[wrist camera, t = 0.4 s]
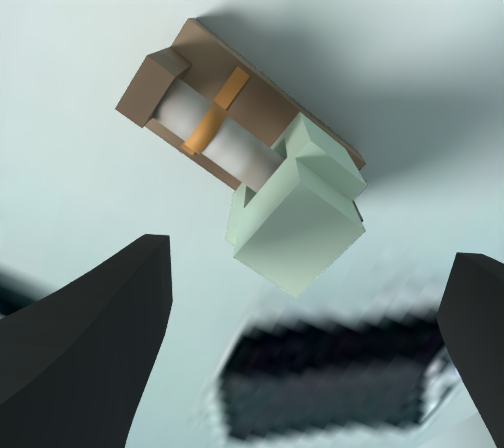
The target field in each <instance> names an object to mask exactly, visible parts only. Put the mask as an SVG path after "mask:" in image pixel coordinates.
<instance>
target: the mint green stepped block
mask: <svg viewBox="0 0 504 448" xmlns="http://www.w3.org/2000/svg"><path fill="white" fill-rule="evenodd" d="M271 149H272V150H274V151H275V152H276V153H278V154H279V155H280V156H282V157H283V158H284V159H285V161H284V162H283V163H282V164H281V165H280V167H279V168H278V169H277V170H276V171H275V172H274V174H273V175H272V176H271V177H270V178H269V180H268V181H267V182H266V183H265V184H264V185H263V187H262V188H261V189H260V190H259V191H258V193H256V192H255V191H253V190H252V189H251V188H249V187H248V186H246V185H245V184H244V183H241V185H240V186H239V187H238V188H237V190H236V191H235V192H234V193H233V196H232V202H231V208H230V214H229V219H228V225H227V231H226V237H225V240H226V241H227V242H229V243H230V244H232V245H233V246H235V247H234V255H233V257H234V258H235V259H237V260H238V261H240V262H241V263H243V264H244V265H246V266H247V267H249V268H250V269H252V270H253V271H255V272H257V273H258V274H260V275H261V276H263V277H264V278H266V279H267V280H269V281H270V282H272V283H273V284H275V285H276V286H278V287H279V288H281V289H282V290H284V291H285V292H287V293H288V294H290V295H292V296H293V297H295V298H297V297H298V296H299V295H300V294H301V293H302V292H303V291H304V290H305V289H306V288H307V287H308V286H309V285H311V284H312V283H313V282H314V281H315V280H316V279H317V278H318V277H319V276H320V275H321V274H322V273H323V272H324V271H325V270H326V269H327V268H328V267H329V266H330V265H331V264H332V263H333V262H334V261H335V260H336V259H337V258H338V257H339V256H340V255H341V254H342V253H343V252H344V251H345V250H347V249H348V248H349V247H350V246H351V245H352V244H353V243H354V242H355V241H356V240H357V239H358V238H359V237H360V236H361V235H362V234H363V233H364V232H365V228H364V226H363V224H362V222H361V220H360V218H359V216H358V213H357V211H356V209H355V207H354V205H353V203H352V201H353V200H354V199H355V198H356V197H357V196H358V195H359V194H360V193H361V192H362V191H363V190H364V189H365V188H366V187H367V184H366V182H365V181H364V179H363V177H362V176H361V174H360V172H359V171H358V169H357V167H356V166H355V164H354V162H353V161H352V159H351V157H350V156H349V154H348V152H347V151H346V149H345V148H344V147H343V146H341V145H340V144H339V143H338V142H337V141H335V140H334V139H333V138H332V137H330V136H329V135H328V134H327V133H326V132H324V131H323V130H322V129H321V128H319V127H318V126H317V125H316V124H314V123H313V122H312V121H311V120H310V119H308V118H307V117H306V116H305V115H303V114H302V113H301V112H299V113H298V115H297V116H296V117H295V118H294V119H293V121H292V122H291V123H290V124H289V126H288V127H287V128H286V129H285V131H284V132H283V133H282V134H281V135H280V137H279V138H278V139H277V140H276V142H275V143H274V144H273V145H272V146H271Z"/></svg>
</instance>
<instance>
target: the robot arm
mask: <svg viewBox="0 0 504 448" xmlns="http://www.w3.org/2000/svg"><path fill="white" fill-rule="evenodd" d="M172 302H173V298H172V278H171V257H170V237H169V235H153V234H145V235H143V236H141V237H140V238H138V239H137V240H135V241H134V242H132V243H131V244H129V245H128V246H126V247H125V248H123V249H122V250H120V251H119V252H118V253H116V254H115V255H113V256H112V257H110V258H109V259H107V260H106V261H104V262H103V263H101V264H100V265H98V266H97V267H95V268H94V269H92V270H91V271H89V272H87V273H86V274H84V275H83V276H81V277H79V278H78V279H76V280H74V281H73V282H71V283H69V284H68V285H66V286H64V287H63V288H61V289H59V290H58V291H56V292H54V293H52V294H51V295H49V296H47V297H45V298H43V299H41V300H39V301H37V302H35V303H33V304H31V305H29V306H27V307H25V308H23V309H21V310H19V311H17V312H15V313H13V314H11V315H8V316H6V317H4V318H2V319H0V448H125V444H126V440H127V437H128V433H129V430H130V427H131V424H132V421H133V418H134V415H135V412H136V410H137V407H138V405H139V402H140V399H141V397H142V394H143V391H144V389H145V386H146V384H147V381H148V378H149V376H150V373H151V371H152V368H153V365H154V363H155V360H156V357H157V355H158V352H159V349H160V347H161V344H162V341H163V339H164V336H165V332H166V328H167V324H168V320H169V315H170V311H171V307H172ZM436 318H437V321H438V324H439V328H440V331H441V334H442V337H443V340H444V342H445V345H446V348H447V350H448V353H449V355H450V357H451V359H452V361H453V363H454V365H455V367H456V368H455V373H456V375H457V376H458V377H459V378H460V379H461V380H462V381H463V383H464V385H465V387H466V388H467V390H468V392H469V394H470V396H471V398H472V400H473V402H474V404H475V406H476V408H477V409H478V411H479V413H480V415H481V417H482V419H483V421H484V423H485V425H486V427H487V428H488V430H489V432H490V434H491V436H492V438H493V440H494V442H495V445H496V447H497V448H504V264H503V263H501V262H499V261H497V260H495V259H493V258H490V257H488V256H486V255H483V254H476V253H459V252H457V254H456V257H455V260H454V263H453V266H452V269H451V272H450V276H449V279H448V282H447V285H446V288H445V291H444V294H443V298H442V301H441V304H440V307H439V310H438V313H437V316H436Z"/></svg>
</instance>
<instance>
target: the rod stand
mask: <svg viewBox="0 0 504 448" xmlns="http://www.w3.org/2000/svg"><path fill="white" fill-rule="evenodd" d="M115 109H116V110H117V111H119V112H120V113H121V114H123V115H124V116H126V117H127V118H128V119H130V120H131V121H133V122H134V123H135V124H137V125H138V126H140V127H141V128H143V127H144V126H145V127H146V128H148V129H149V130H151V131H152V132H153V133H155V134H156V135H158V136H159V137H160V138H162V139H163V140H165V141H166V142H168V143H169V144H170V145H172V146H173V147H175V148H176V149H177V150H179V151H180V152H182V153H183V154H184V155H186V156H187V157H189V158H190V159H191V160H193V161H194V162H196V163H197V164H198V165H200V166H201V167H203V168H204V169H205V170H207V171H208V172H210V173H211V174H213V175H214V176H215V177H217V178H218V179H220V180H221V181H222V182H224V183H225V184H227V185H228V186H229V187H231V188H232V189H234V190H235V191H236V190H237V188H238V187H239V186H240V185H241V183H244V184H245V185H246V186H248V187H249V188H251V189H252V190H253V191H255V192H256V193H258V191H259V190H260V189H261V188H262V187H263V185H264V184H265V183H266V182H267V181H268V180H269V178H270V177H271V176H272V175H273V174H274V172H275V171H276V170H277V169H278V168H279V167H280V165H281V164H282V163H283V162H284V161H285V159H284V158H283V157H282V156H280V155H279V154H278V153H276V152H275V151H274V150H272V149H271V146H272V145H273V144H274V143H275V142H276V140H277V139H278V138H279V137H280V135H281V134H282V133H283V132H284V131H285V129H286V128H287V127H288V126H289V124H290V123H291V122H292V121H293V119H294V118H295V117H296V116H297V115H298V113H299V112H301V113H302V114H303V115H305V116H306V117H307V118H308V119H310V120H311V121H312V122H313V123H314V124H316V125H317V126H318V127H319V128H321V129H322V130H323V131H324V132H326V133H327V134H328V135H329V136H330V137H332V138H333V139H334V140H335V141H337V142H338V143H339V144H340V145H341V146H343V147H344V148H345V149H346V151H347V152H348V154H349V156H350V157H351V159H352V161H353V162H354V164H355V166H356V167H357V169H358V171H359V170H360V169H361V168H362V167H363V166H364V165H365V164H366V163H365V162H364V160H363V159H362V157H361V156H360V154H359V153H358V152H357V151H356V150H355V149H353V148H352V147H351V146H350V145H348V144H347V143H346V142H345V141H344V140H342V139H341V138H340V137H339V136H338V135H336V134H335V133H334V132H333V131H331V130H330V129H329V128H328V127H327V126H325V125H324V124H323V123H322V122H320V121H319V120H318V119H317V118H316V117H314V116H313V115H312V114H311V113H309V112H308V111H307V110H306V109H305V108H303V107H302V106H301V105H300V104H298V103H297V102H296V101H295V100H294V99H292V98H291V97H290V96H289V95H288V94H286V93H285V92H284V91H283V90H281V89H280V88H279V87H278V86H277V85H275V84H274V83H273V82H272V81H270V80H269V79H268V78H267V77H266V76H264V75H263V74H262V73H261V72H259V71H258V70H257V69H256V68H255V67H253V66H252V65H251V64H250V63H249V62H247V61H246V60H245V59H244V58H242V57H241V56H240V55H239V54H238V53H236V52H235V51H234V50H233V49H231V48H230V47H229V46H228V45H227V44H225V43H224V42H223V41H222V40H220V39H219V38H218V37H217V36H216V35H214V34H213V33H212V32H211V31H209V30H208V29H207V28H206V27H205V26H203V25H202V24H201V23H200V22H199V21H197V20H196V19H195V18H188V19H187V21H186V23H185V24H184V26H183V27H182V29H181V31H180V32H179V34H178V36H177V37H176V39H175V40H174V42H173V44H172V45H171V47H169V48H166V49H163V50H160V51H158V52H155V53H152V54H149V55H147V56H146V58H145V60H144V61H143V63H142V65H141V66H140V68H139V70H138V71H137V73H136V75H135V76H134V78H133V80H132V81H131V83H130V85H129V86H128V88H127V90H126V91H125V93H124V95H123V96H122V98H121V100H120V101H119V103H118V105H117V106H116V108H115ZM352 203H353V205H354V207H355V209H356V211H357V213H358V216H359V218H360V220H361V222H363V219H362V217H361V215H360V213H359V210H358V208H357V206H356V204H355V202H354V200H353V201H352Z"/></svg>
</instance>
